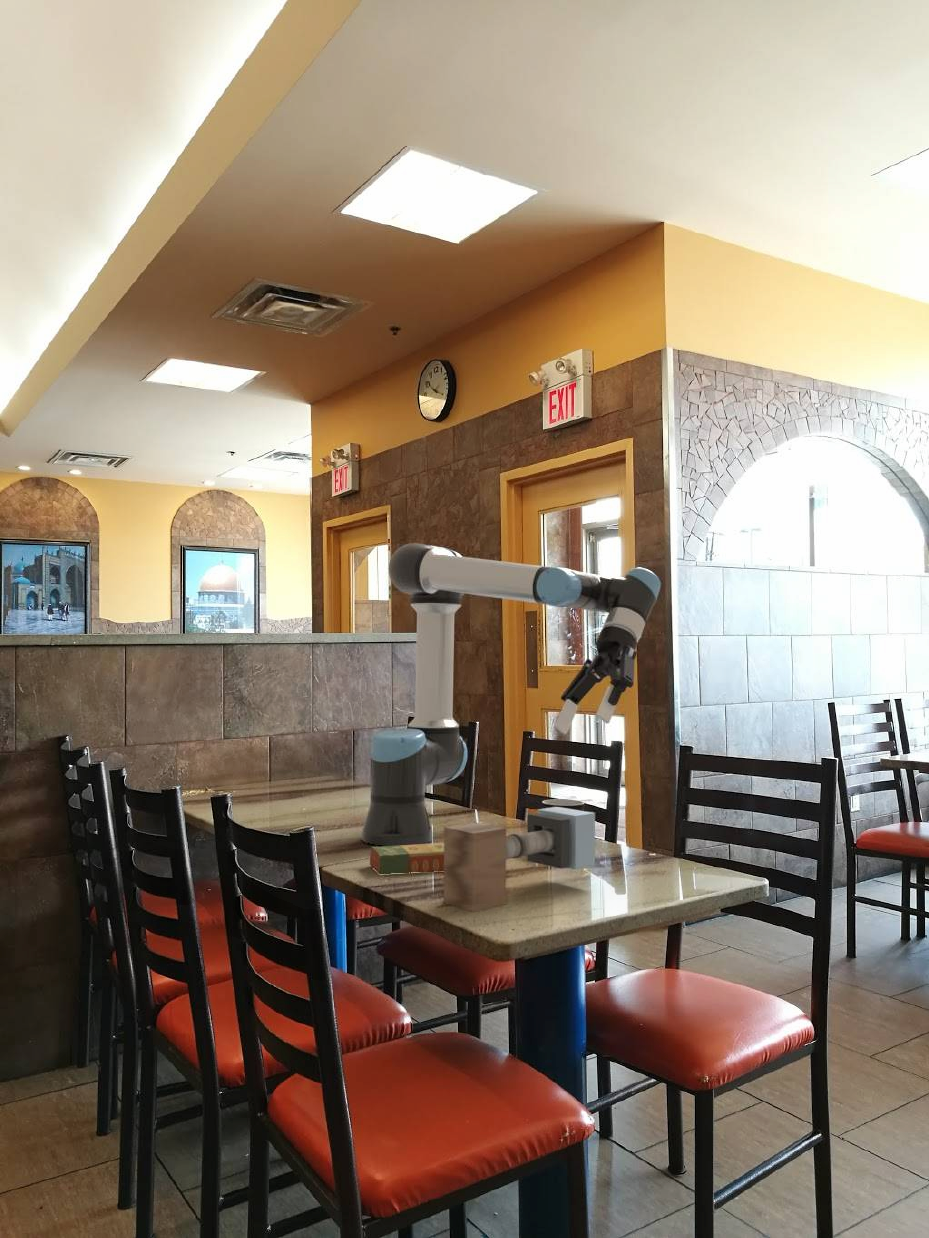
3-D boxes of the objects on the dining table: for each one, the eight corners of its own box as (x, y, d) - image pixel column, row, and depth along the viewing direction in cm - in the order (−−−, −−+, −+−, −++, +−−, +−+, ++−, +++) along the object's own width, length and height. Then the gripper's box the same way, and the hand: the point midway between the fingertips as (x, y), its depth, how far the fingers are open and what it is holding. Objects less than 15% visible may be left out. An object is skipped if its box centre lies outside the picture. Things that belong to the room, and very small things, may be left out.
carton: (464, 872, 175) (464, 849, 175) (378, 878, 170) (378, 854, 170) (451, 863, 183) (451, 840, 183) (369, 868, 178) (369, 845, 178)
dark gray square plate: (527, 860, 165) (527, 814, 165) (535, 859, 166) (535, 813, 167) (561, 868, 159) (561, 820, 159) (569, 866, 160) (569, 819, 161)
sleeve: (537, 860, 167) (537, 809, 168) (556, 857, 171) (556, 806, 171) (575, 869, 161) (575, 815, 161) (594, 865, 164) (594, 812, 164)
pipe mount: (443, 902, 152) (444, 827, 152) (569, 875, 171) (570, 808, 172) (473, 911, 146) (473, 833, 147) (599, 882, 166) (599, 813, 167)
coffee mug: (582, 856, 188) (582, 806, 189) (539, 854, 190) (539, 804, 190) (587, 845, 200) (587, 798, 200) (546, 843, 201) (546, 796, 202)
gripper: (675, 631, 178) (637, 725, 168) (596, 660, 199) (558, 745, 189) (646, 608, 176) (606, 702, 166) (569, 639, 197) (529, 724, 187)
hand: (580, 725), depth 177 cm, fingers open, 13 cm apart
